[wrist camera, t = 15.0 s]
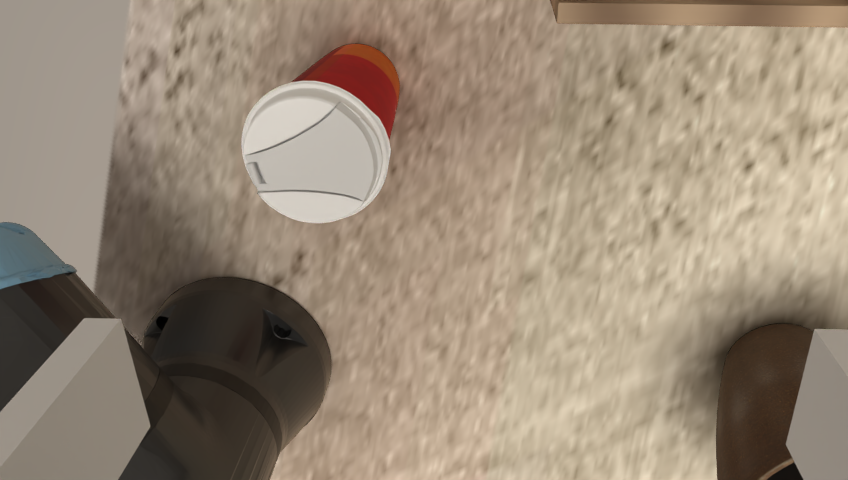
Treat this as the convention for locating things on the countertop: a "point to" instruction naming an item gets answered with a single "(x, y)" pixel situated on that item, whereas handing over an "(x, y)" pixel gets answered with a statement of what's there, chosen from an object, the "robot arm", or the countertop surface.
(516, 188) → the countertop surface
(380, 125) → the paper cup
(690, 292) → the countertop surface
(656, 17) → the frame
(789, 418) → the plant pot
